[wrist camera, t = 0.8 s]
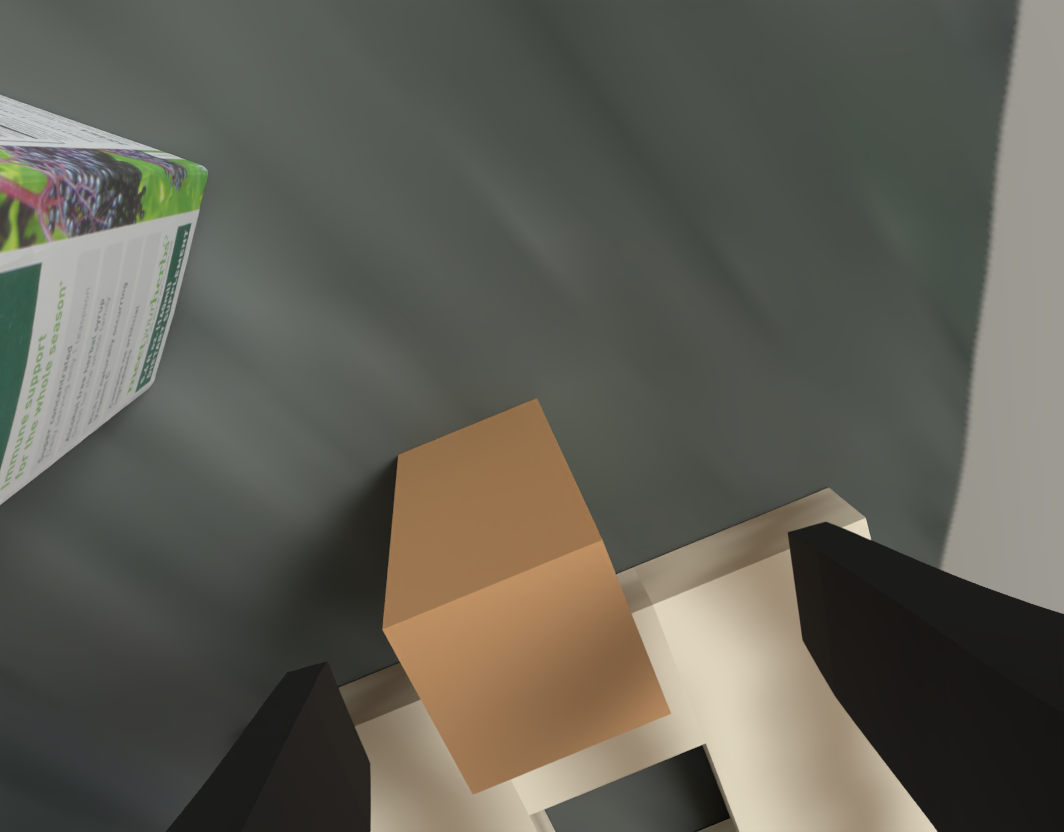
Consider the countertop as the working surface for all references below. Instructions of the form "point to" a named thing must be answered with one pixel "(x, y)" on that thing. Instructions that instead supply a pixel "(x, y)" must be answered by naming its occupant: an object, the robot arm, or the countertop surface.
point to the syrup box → (82, 278)
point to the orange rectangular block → (510, 602)
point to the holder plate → (675, 707)
